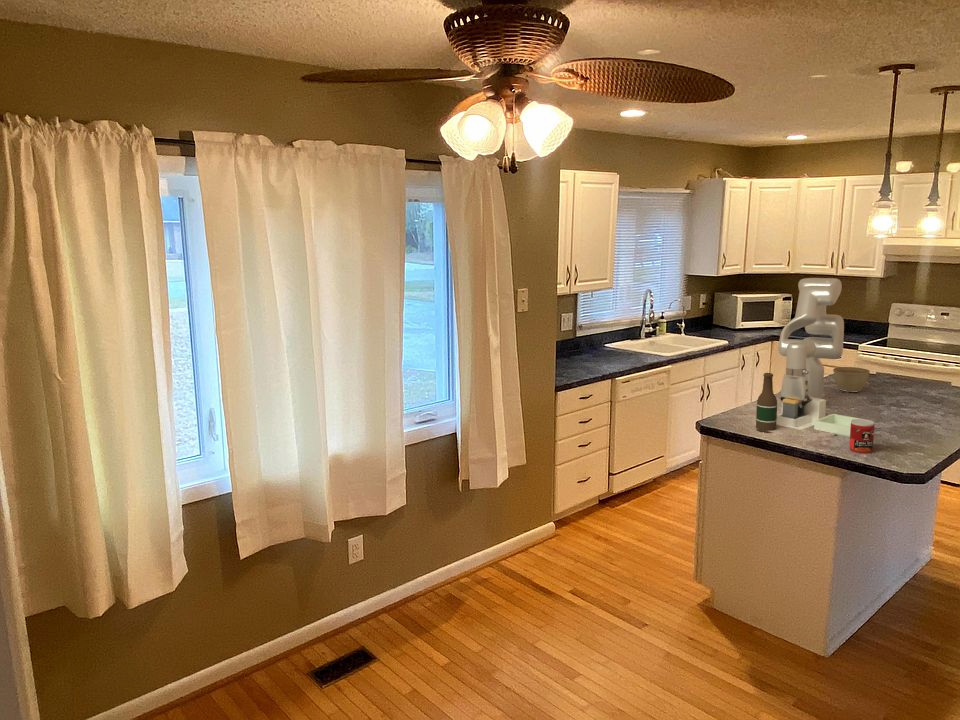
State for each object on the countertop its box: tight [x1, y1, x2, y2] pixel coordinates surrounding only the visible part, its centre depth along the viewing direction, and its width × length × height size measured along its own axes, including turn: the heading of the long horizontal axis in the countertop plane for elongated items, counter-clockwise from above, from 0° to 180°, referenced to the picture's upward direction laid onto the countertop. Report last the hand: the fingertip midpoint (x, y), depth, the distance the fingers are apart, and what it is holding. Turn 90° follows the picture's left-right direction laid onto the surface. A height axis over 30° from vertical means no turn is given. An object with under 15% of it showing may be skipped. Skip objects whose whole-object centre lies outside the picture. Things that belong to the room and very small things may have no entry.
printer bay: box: [776, 397, 827, 431], centre depth 290 cm, size 20×16×10 cm
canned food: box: [848, 418, 876, 454], centre depth 252 cm, size 8×8×11 cm
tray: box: [813, 413, 861, 440], centre depth 277 cm, size 16×14×4 cm
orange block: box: [781, 398, 806, 419], centre depth 288 cm, size 9×5×10 cm, turn 129°
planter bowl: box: [832, 366, 871, 391], centre depth 344 cm, size 16×16×11 cm
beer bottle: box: [755, 372, 778, 434], centre depth 280 cm, size 8×8×24 cm
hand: (793, 414), depth 289 cm, fingers closed on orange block, 5 cm apart
